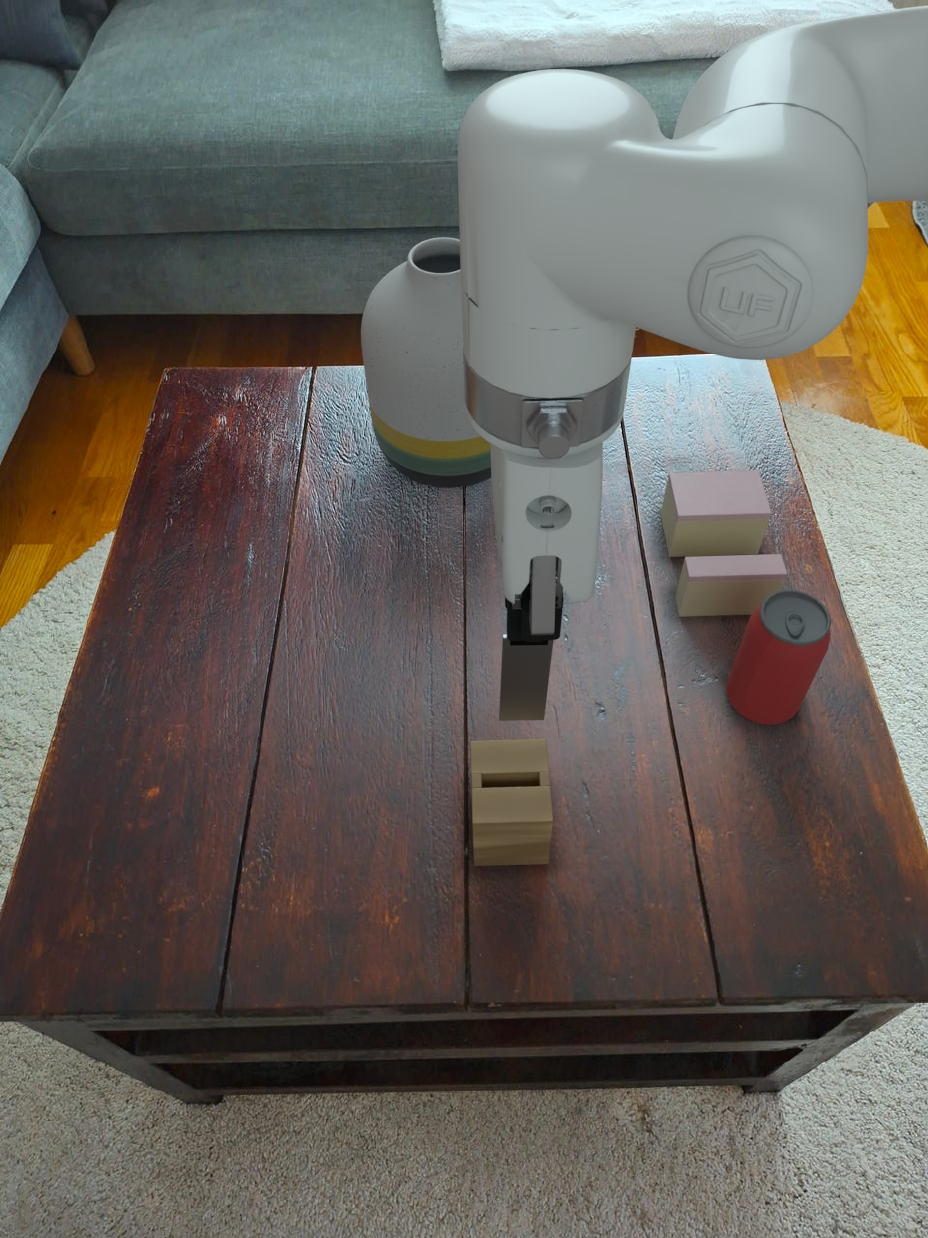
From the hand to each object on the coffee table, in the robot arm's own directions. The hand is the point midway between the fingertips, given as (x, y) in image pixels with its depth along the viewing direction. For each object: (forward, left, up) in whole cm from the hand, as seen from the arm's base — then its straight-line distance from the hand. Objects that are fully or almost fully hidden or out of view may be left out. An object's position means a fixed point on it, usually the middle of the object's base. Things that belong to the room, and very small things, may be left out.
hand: (531, 620), depth 58 cm
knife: (0, 0, -12) cm, 12 cm away
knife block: (-1, +2, -26) cm, 26 cm away
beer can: (-1, -25, -26) cm, 36 cm away
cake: (+17, -33, -26) cm, 45 cm away
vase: (+41, -16, -26) cm, 52 cm away
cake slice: (+9, -28, -26) cm, 40 cm away
